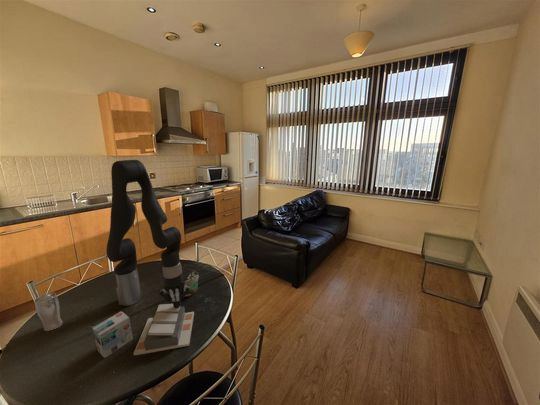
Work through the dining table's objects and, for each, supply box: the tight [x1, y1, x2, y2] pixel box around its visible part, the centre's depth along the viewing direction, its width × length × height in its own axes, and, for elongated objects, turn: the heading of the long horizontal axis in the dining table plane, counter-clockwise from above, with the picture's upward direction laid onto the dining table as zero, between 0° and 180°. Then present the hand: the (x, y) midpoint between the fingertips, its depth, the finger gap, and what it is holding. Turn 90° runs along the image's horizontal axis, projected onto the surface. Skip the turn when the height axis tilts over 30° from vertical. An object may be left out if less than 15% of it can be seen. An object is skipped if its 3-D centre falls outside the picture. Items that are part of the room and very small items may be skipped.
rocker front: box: [148, 324, 176, 335], centre depth 87 cm, size 9×4×1 cm, turn 103°
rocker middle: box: [153, 312, 178, 324], centre depth 92 cm, size 9×4×1 cm, turn 103°
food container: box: [183, 269, 200, 298], centre depth 119 cm, size 12×6×10 cm, turn 179°
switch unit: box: [133, 305, 195, 356], centre depth 93 cm, size 20×18×6 cm
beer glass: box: [34, 292, 64, 332], centre depth 95 cm, size 7×7×15 cm
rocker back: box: [157, 303, 181, 313], centre depth 98 cm, size 9×4×1 cm, turn 103°
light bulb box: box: [92, 311, 133, 359], centre depth 87 cm, size 11×7×11 cm, turn 148°
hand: (177, 306), depth 99 cm, fingers closed
